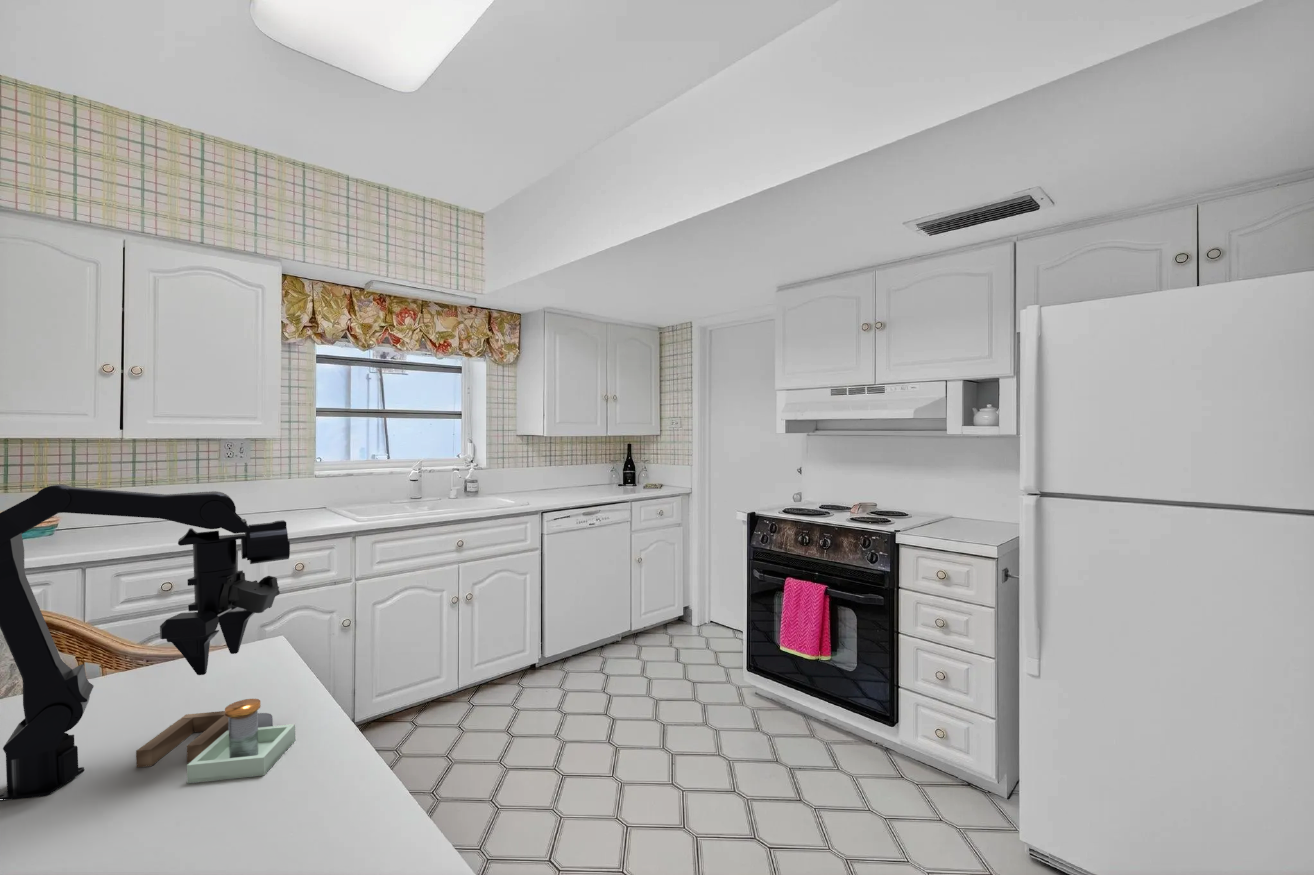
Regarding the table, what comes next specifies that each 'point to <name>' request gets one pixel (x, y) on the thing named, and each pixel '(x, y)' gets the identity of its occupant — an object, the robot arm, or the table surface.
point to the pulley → (264, 720)
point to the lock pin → (243, 727)
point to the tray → (221, 767)
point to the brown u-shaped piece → (184, 737)
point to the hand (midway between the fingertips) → (218, 663)
